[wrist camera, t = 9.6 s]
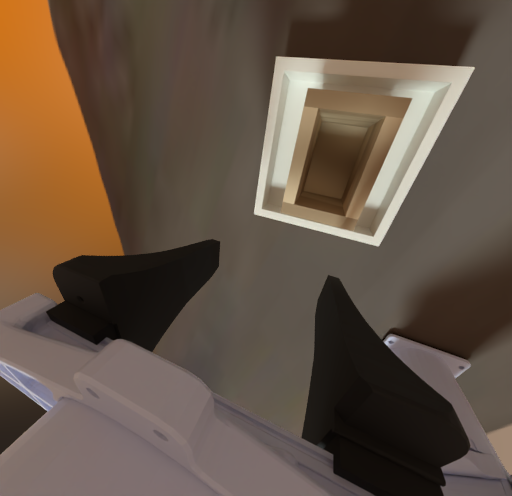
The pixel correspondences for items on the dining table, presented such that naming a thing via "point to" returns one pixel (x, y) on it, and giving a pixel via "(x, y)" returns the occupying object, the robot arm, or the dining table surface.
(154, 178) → the dining table surface
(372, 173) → the pine crate
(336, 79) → the white square tray
